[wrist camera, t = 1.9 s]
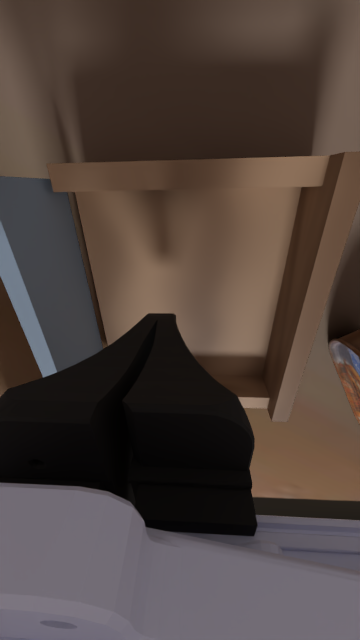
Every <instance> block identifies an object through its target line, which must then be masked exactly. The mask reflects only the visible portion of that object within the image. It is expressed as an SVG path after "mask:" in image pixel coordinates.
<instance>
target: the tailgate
mask: <svg viewBox="0 0 360 640" xmlns="http://www.w3.org/2000/svg"><path fill="white" fill-rule="evenodd" d="M0 276H1V279H2V281H3V283H4V286H5V288H6V290H7V293H8V295H9V298H10V300H11V302H12V305H13V307H14V309H15V312H16V314H17V317H18V319H19V321H20V324H21V326H22V328H23V331H24V333H25V336H26V338H27V340H28V343H29V345H30V347H31V350H32V352H33V355H34V357H35V359H36V362H37V364H38V366H39V369H40V371H41V373H42V376H43V377H46V376H49V375H51V374H54V373H56V372H59V371H61V370H64V369H66V368H68V367H71V366H73V365H75V364H77V363H79V362H81V361H83V360H85V359H87V358H89V357H91V356H93V355H94V354H96V353H98V352H99V351H101V350H103V347H102V342H101V338H100V334H99V329H98V325H97V321H96V316H95V312H94V308H93V303H92V299H91V294H90V290H89V286H88V281H87V277H86V273H85V268H84V264H83V260H82V255H81V251H80V247H79V242H78V238H77V234H76V229H75V225H74V220H73V216H72V212H71V207H70V203H69V199H68V194H67V192H53V188H52V184H51V180H50V179H39V178H21V177H3V176H0Z"/></svg>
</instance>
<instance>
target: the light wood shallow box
mask: <svg viewBox="0 0 360 640" xmlns="http://www.w3.org/2000/svg"><path fill="white" fill-rule="evenodd" d="M47 168H48V172H49V176H50V180H51V184H52V188H53V192H75V195H76V200H77V204H78V209H79V214H80V218H81V223H82V228H83V232H84V237H85V242H86V246H87V251H88V256H89V260H90V265H91V270H92V274H93V279H94V284H95V288H96V293H97V298H98V302H99V307H100V312H101V316H102V321H103V325H104V330H105V335H106V339H107V344H108V346H109V345H110V344H112V343H113V342H115V341H116V340H117V339H119V338H120V337H121V336H123V335H124V334H125V333H126V332H128V331H129V330H130V329H131V328H132V327H134V326H135V325H136V324H137V323H138V322H139V321H140V320H141V319H142V318H144V317H145V316H146V315H147V314H148V313H174V314H175V315H176V323H177V326H178V329H179V332H180V334H181V336H182V338H183V340H184V342H185V344H186V346H187V347H188V349H189V350H190V352H191V353H192V355H193V356H194V357H195V359H196V360H197V361H198V362H199V364H200V365H201V366H202V367H203V368H204V369H205V370H206V371H207V372H208V373H209V374H210V375H211V376H212V377H213V378H214V379H215V380H216V381H218V382H219V383H220V384H222V385H223V386H224V387H226V388H227V389H229V390H230V391H231V392H233V393H234V394H236V395H237V396H238V398H239V400H240V402H241V404H242V406H243V408H267V409H268V412H269V415H270V418H271V421H278V422H288V419H289V416H290V413H291V410H292V407H293V404H294V401H295V398H296V394H297V391H298V388H299V385H300V382H301V379H302V376H303V373H304V370H305V367H306V364H307V361H308V358H309V355H310V352H311V349H312V346H313V342H314V339H315V336H316V333H317V330H318V327H319V324H320V321H321V318H322V315H323V312H324V309H325V306H326V303H327V300H328V297H329V293H330V290H331V287H332V284H333V281H334V278H335V275H336V272H337V269H338V266H339V263H340V260H341V257H342V254H343V251H344V248H345V244H346V241H347V238H348V235H349V232H350V229H351V226H352V223H353V220H354V217H355V214H356V211H357V208H358V205H359V202H360V152H343V153H339V154H335V155H330V156H299V157H264V158H229V159H194V160H159V161H124V162H89V163H54V164H47Z"/></svg>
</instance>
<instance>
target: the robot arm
mask: <svg viewBox="0 0 360 640" xmlns="http://www.w3.org/2000/svg"><path fill="white" fill-rule="evenodd" d="M253 451H254V435H253V431H252V428H251V425H250V422H249V420H248V417H247V415H246V413H245V410H244V408H243V406H242V404H241V402H240V400H239V398H238V396H237V395H236V394H234V393H233V392H231V391H230V390H229V389H227V388H226V387H224V386H223V385H222V384H220V383H219V382H218V381H216V380H215V379H214V378H213V377H212V376H211V375H210V374H209V373H208V372H207V371H206V370H205V369H204V368H203V367H202V366H201V365H200V364H199V362H198V361H197V360H196V359H195V357H194V356H193V355H192V353H191V352H190V350H189V349H188V347H187V346H186V344H185V342H184V340H183V338H182V336H181V334H180V332H179V329H178V326H177V323H176V315H175V314H174V313H148V314H147V315H146V316H145V317H144V318H142V319H141V320H140V321H139V322H138V323H137V324H136V325H135V326H134V327H132V328H131V329H130V330H129V331H128V332H126V333H125V334H124V335H123V336H121V337H120V338H119V339H117V340H116V341H115V342H113V343H112V344H110V345H109V346H107V347H106V348H104V349H103V350H101V351H99V352H98V353H96V354H94V355H93V356H91V357H89V358H87V359H85V360H83V361H81V362H79V363H77V364H75V365H73V366H71V367H68V368H66V369H64V370H61V371H59V372H56V373H54V374H51V375H49V376H46V377H43V378H41V379H38V380H35V381H32V382H29V383H26V384H23V385H20V386H16V387H13V388H10V389H8V390H7V391H6V392H5V393H4V394H3V395H2V396H1V397H0V640H360V520H343V519H324V518H305V517H286V516H266V515H256V514H255V509H254V504H253V498H252V493H251V489H252V480H251V475H250V470H249V467H250V463H251V459H252V455H253Z"/></svg>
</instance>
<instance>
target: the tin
mask: <svg viewBox="0 0 360 640" xmlns="http://www.w3.org/2000/svg"><path fill="white" fill-rule="evenodd" d="M329 351H330V355H331V357H332V360H333V363H334V365H335V368H336V370H337V373H338V375H339V378H340V380H341V383H342V385H343V388H344V390H345V393H346V395H347V398H348V400H349V403H350V405H351V408H352V410H353V413H354V415H355V417H356V419H357V421H358V423H359V424H360V329H359V330H357V331H355V332H352V333H350V334H348V335H345V336H343V337H341V338H339V339H332V340H331V341H330V343H329Z"/></svg>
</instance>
